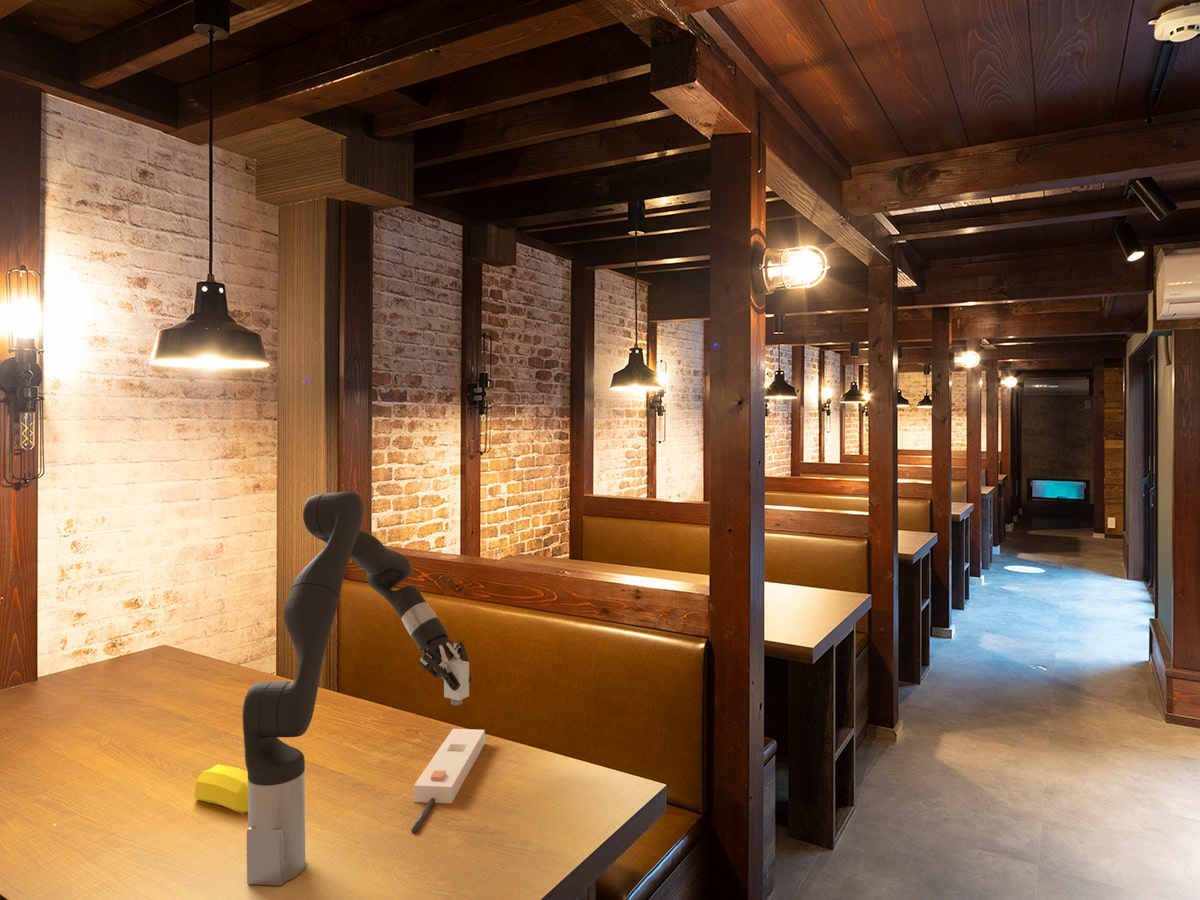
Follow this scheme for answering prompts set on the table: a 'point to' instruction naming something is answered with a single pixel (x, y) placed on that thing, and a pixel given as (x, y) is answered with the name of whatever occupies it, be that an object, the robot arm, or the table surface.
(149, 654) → the table surface
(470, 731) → the power strip
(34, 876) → the table surface
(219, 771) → the yellow banana
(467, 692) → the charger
